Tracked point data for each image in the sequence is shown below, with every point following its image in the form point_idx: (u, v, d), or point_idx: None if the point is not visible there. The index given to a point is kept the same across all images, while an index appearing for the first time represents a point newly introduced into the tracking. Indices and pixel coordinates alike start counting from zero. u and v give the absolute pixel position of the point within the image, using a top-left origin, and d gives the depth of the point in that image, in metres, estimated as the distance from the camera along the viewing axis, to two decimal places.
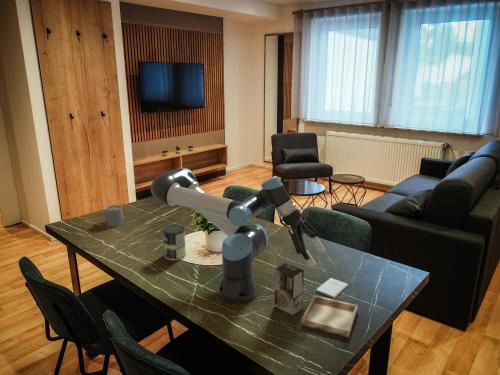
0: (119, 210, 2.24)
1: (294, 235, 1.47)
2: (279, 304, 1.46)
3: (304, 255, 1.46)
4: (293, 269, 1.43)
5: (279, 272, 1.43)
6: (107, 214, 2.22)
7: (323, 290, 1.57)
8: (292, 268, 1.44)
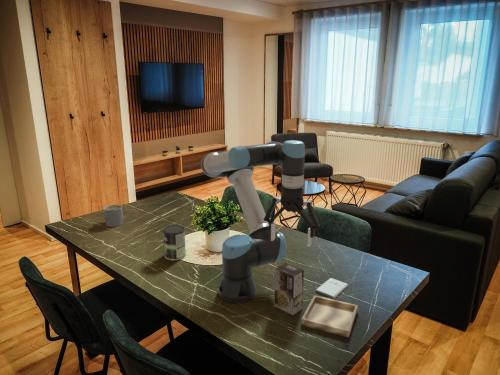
0: (119, 210, 2.24)
1: None
2: (279, 304, 1.46)
3: None
4: (293, 269, 1.43)
5: (279, 272, 1.43)
6: (107, 214, 2.22)
7: (323, 290, 1.57)
8: (292, 268, 1.44)
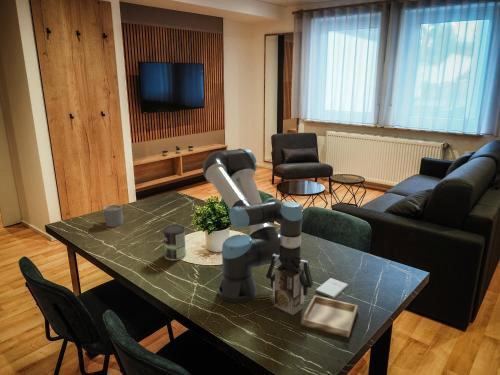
0: (119, 210, 2.24)
1: None
2: (279, 304, 1.46)
3: None
4: None
5: (279, 272, 1.43)
6: (107, 214, 2.22)
7: (323, 290, 1.57)
8: None
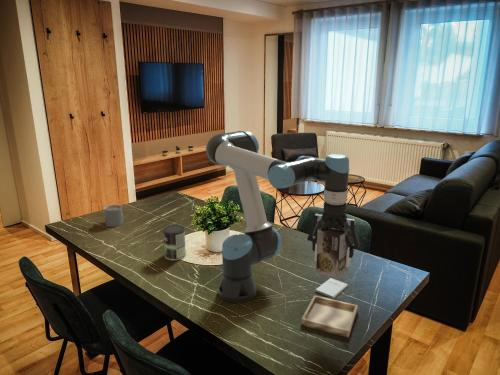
0: (119, 210, 2.24)
1: None
2: (322, 268, 1.35)
3: None
4: None
5: (322, 232, 1.31)
6: (107, 214, 2.22)
7: (322, 290, 1.57)
8: None
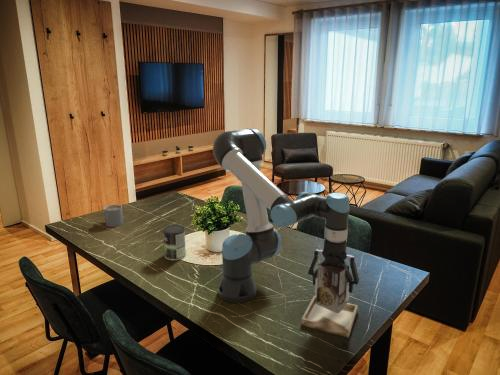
0: (119, 210, 2.24)
1: (314, 257, 1.37)
2: (322, 302, 1.38)
3: None
4: (337, 265, 1.35)
5: (323, 268, 1.35)
6: (107, 214, 2.22)
7: None
8: None
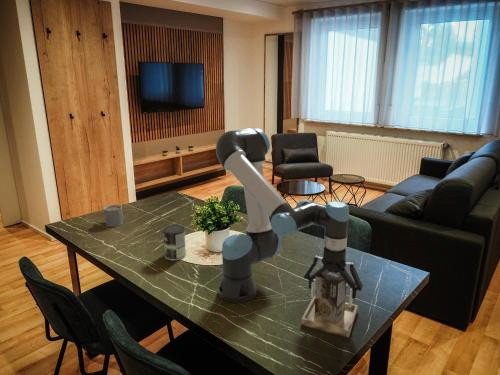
0: (119, 210, 2.24)
1: None
2: (320, 313, 1.40)
3: None
4: (335, 276, 1.37)
5: (321, 279, 1.36)
6: (107, 214, 2.22)
7: None
8: (334, 275, 1.38)
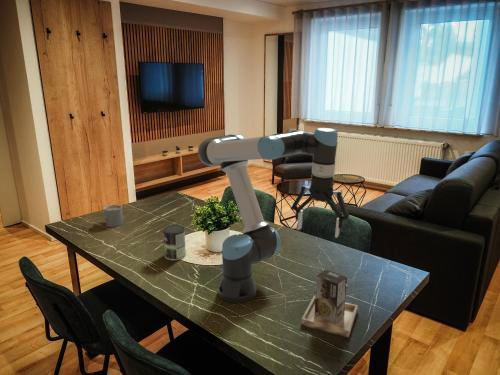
0: (119, 210, 2.24)
1: (300, 193, 1.37)
2: (320, 313, 1.40)
3: None
4: (335, 276, 1.37)
5: (321, 279, 1.36)
6: (107, 214, 2.22)
7: None
8: (334, 275, 1.38)
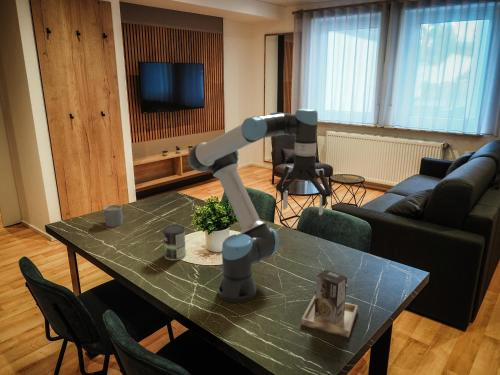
0: (119, 210, 2.24)
1: (284, 173, 1.41)
2: (320, 313, 1.40)
3: None
4: (335, 276, 1.37)
5: (321, 279, 1.36)
6: (107, 214, 2.22)
7: None
8: (334, 275, 1.38)
